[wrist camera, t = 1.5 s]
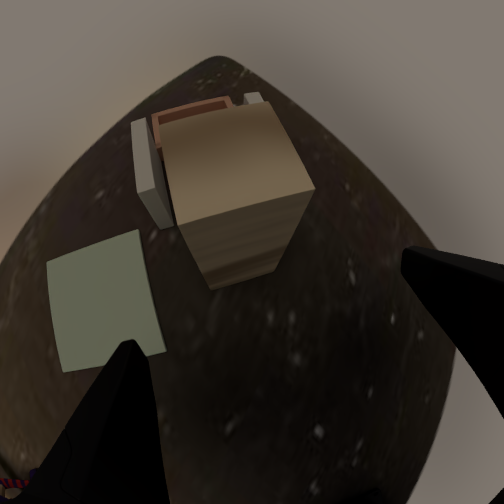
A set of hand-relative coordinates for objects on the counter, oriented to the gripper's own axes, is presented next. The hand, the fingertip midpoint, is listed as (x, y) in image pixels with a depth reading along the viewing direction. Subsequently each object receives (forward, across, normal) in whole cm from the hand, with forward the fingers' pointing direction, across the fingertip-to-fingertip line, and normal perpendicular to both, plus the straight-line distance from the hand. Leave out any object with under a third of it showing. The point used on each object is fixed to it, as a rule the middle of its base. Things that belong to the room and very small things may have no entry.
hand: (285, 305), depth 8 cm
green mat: (+12, +12, +5) cm, 18 cm away
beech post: (+13, 0, +4) cm, 14 cm away
